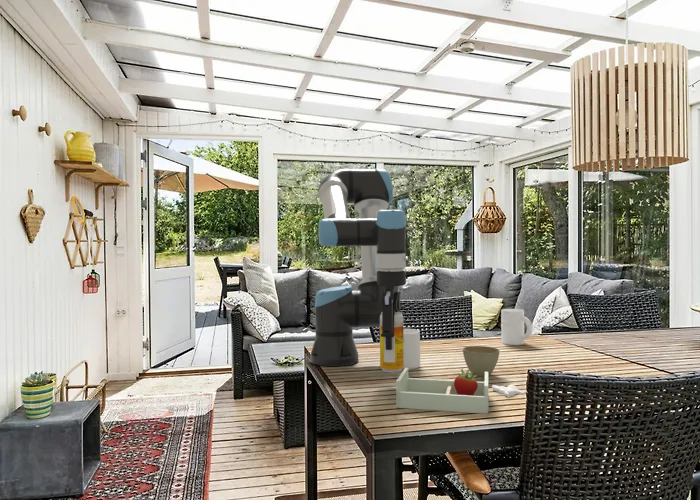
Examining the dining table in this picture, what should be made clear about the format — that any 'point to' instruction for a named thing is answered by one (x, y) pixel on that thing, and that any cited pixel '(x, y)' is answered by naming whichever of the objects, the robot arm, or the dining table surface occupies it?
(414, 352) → the mug
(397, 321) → the beer can
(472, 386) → the fruit
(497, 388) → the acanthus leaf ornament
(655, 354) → the dining table surface
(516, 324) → the mug
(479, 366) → the flower pot
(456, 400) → the crate
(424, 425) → the dining table surface
